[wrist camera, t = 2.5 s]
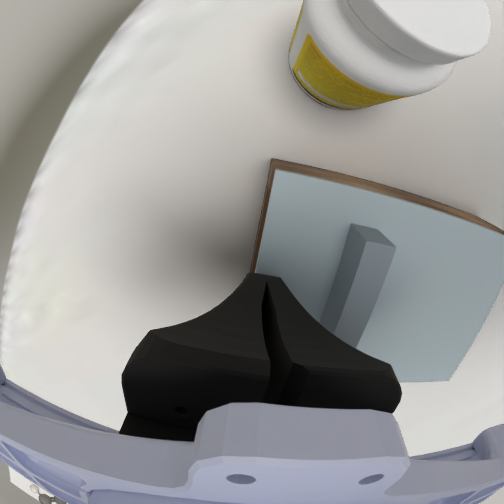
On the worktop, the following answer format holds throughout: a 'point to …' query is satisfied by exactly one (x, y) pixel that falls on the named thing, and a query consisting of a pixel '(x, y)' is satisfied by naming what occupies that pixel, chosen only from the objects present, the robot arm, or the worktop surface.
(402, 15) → the supplement bottle
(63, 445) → the robot arm
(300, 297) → the lid
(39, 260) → the worktop surface
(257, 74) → the worktop surface
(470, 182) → the worktop surface
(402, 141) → the worktop surface
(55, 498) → the molecule model
